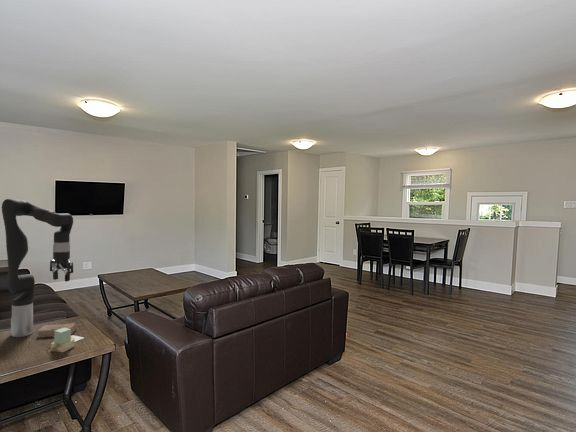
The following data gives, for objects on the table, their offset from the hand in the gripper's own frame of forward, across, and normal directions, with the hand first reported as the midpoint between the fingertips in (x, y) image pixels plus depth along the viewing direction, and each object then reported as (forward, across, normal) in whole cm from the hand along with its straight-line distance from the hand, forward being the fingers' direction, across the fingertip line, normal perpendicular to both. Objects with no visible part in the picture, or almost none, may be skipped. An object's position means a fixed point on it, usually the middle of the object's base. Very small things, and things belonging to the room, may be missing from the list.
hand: (61, 280), depth 180 cm
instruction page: (+32, +6, +1) cm, 33 cm away
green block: (+28, +12, -8) cm, 32 cm away
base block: (+32, +12, -8) cm, 35 cm away
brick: (+33, -8, +4) cm, 34 cm away
